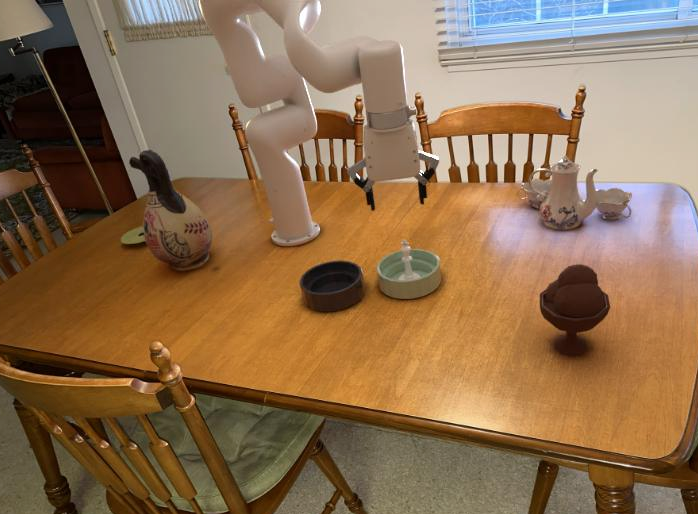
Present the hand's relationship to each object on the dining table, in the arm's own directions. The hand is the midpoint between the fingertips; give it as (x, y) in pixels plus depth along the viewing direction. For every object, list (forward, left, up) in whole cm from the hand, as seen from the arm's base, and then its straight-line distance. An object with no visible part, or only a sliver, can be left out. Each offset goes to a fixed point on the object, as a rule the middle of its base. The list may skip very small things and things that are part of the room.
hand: (397, 204), depth 108 cm
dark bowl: (-10, -12, -18) cm, 24 cm away
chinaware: (+15, +42, -18) cm, 48 cm away
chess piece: (+1, 0, -18) cm, 18 cm away
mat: (-79, -22, -18) cm, 84 cm away
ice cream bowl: (+38, -1, -18) cm, 42 cm away
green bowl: (+1, 0, -18) cm, 18 cm away
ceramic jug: (-53, -22, -18) cm, 60 cm away
